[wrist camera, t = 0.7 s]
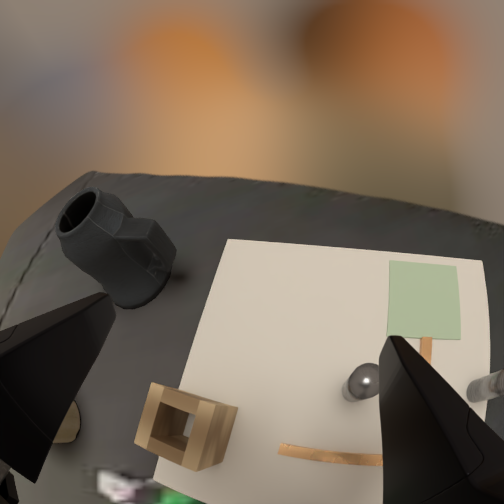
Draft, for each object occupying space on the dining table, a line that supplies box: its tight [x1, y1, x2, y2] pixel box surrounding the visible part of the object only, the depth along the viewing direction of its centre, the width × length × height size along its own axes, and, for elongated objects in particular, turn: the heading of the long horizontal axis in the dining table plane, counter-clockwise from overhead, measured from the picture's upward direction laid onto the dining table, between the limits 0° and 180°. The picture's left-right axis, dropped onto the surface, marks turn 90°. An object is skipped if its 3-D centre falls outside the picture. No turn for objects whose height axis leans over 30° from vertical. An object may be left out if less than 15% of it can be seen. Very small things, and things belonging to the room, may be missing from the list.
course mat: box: [153, 239, 490, 504], centre depth 18 cm, size 25×26×1 cm
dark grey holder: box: [55, 187, 176, 309], centre depth 25 cm, size 12×9×11 cm
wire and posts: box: [278, 337, 504, 466], centre depth 13 cm, size 10×18×6 cm, turn 120°
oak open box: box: [134, 382, 238, 472], centre depth 17 cm, size 5×5×5 cm
